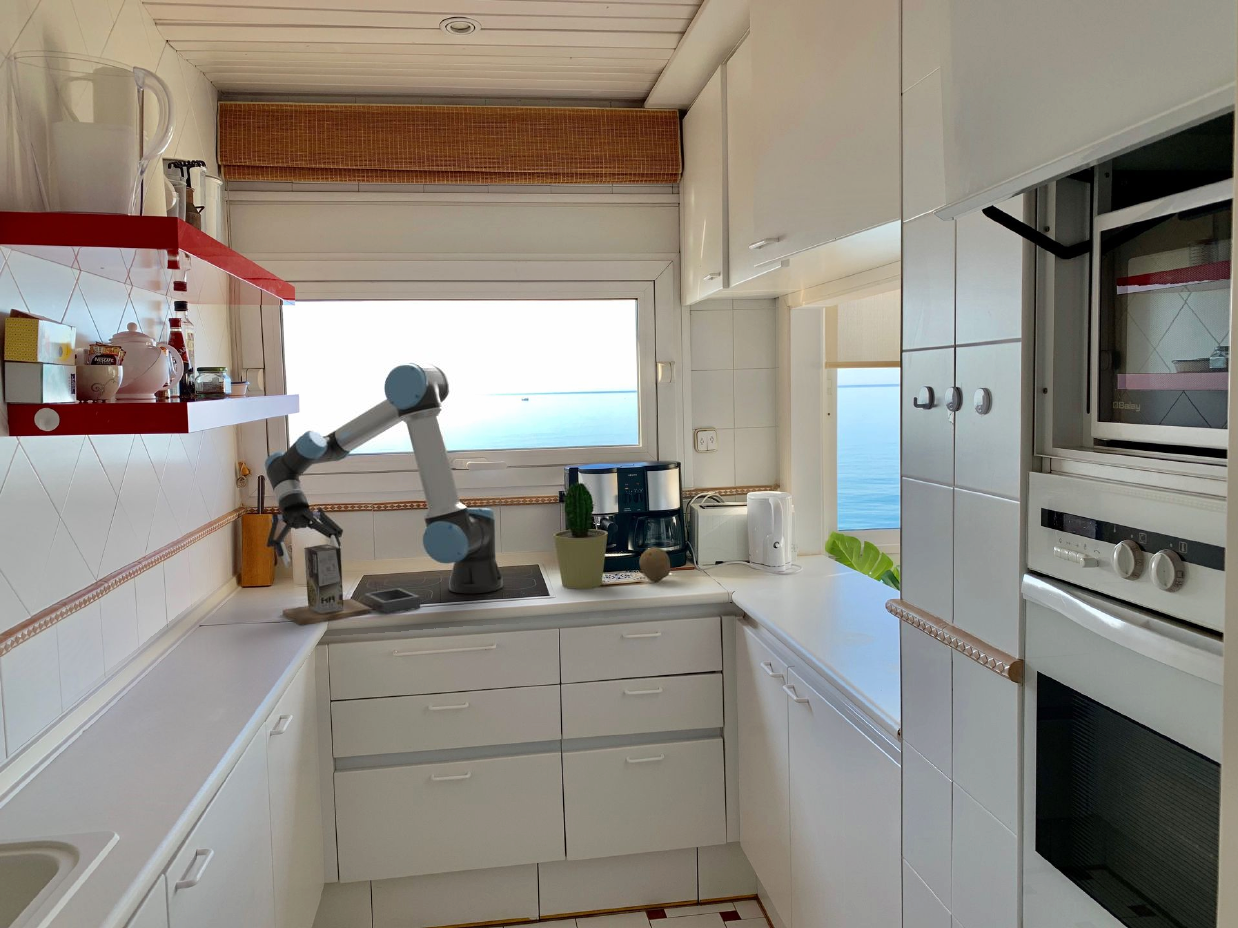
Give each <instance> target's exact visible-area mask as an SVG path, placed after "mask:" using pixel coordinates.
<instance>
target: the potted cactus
mask: <svg viewBox="0 0 1238 928" xmlns="http://www.w3.org/2000/svg"><path fill="white" fill-rule="evenodd" d="M587 482H588V481H587ZM587 482H585V483H583V482H574V484H573V483H571V484H570V486H569V487H568V488H566V492H564V495H565V496H563V497H562V500H564V502H563V503H564V504H563V503H562V504H563V507H564V508H561V510H562V511H564V513H566V516H565V517H564V519H566V520H565V522H566V521H567V525H568V528H569V529H568V530H561V531H558V532H555V533H554V534H553V536H554V537H553V539H554V545H555V550H556V551H555V552H556V557H557V562H558V567H559V568H558V569H559V573H560V575H559V576H560V579H561V580H560V581H561V584H562V587H563V588H567V589H572V590H585V589H586V590H587V589H595V588H597V587H600V586H601V585H602V582H603V576H604V575H603V574H604V566H605V559H606V558H605V557H606V550H607V542H608V540H607V539H608V534H609V533H608V531H606V530H601V529H590V528H591V527H592V526H591V523H592V524H593V522H594V521H593V520H592V517H594V515H595V514H593V512H594V510H595V509H596V508H595V507H596V506H598V505H596V504H597V502H596V501H594V499H593V498H594V497H593V495H592V493H591V492H590V488H589V486H588V485H586V484H587ZM561 510H560V511H561Z"/></svg>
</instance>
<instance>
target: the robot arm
mask: <svg viewBox="0 0 1238 928" xmlns="http://www.w3.org/2000/svg"><path fill="white" fill-rule="evenodd" d="M383 389H384V395H385V398H386V399H384V400H382V401H381V402H380V403H378V404H376V405H374V406H373V407H371V408H370V409H368V410H366V411H364V412H363V413H362V414H359V415H358V416H356V417H355V418H353V419H351V420H349V421H348V422H347V423H344V424H343V425H341V426H339V427H338V428H337V429H336V430H334V431H331V432H330V433H328V434H327V435H324V436H322V434H320V433H319V432H315V431H314V430H307V431H306V432H304V433H303V434H302V435H300V436H299V437H298V438H297V439H296V440H295V441H294V443H293V444H292V445H291V446H290V447H289V448H288V449H287V450H286V451H285V452H284V451H277V452H275V453H273V454H270V455H268V457H267V458H266V459H265V461H264V467H265V472H266V476H267V478H268V480H269V483H270V485H271V487H272V492H273V494H274V496H275V497H274V498H275V499H276V502H277V505H278V508H279V510H280V514H281V515H278V513H276V512H275V513H273V514H272V515H271V521H270V522H271V528H270V532H269V533H268V538H267V542H266V547H267V548H271V547H273V549H274V550H275V551H276V554H277V556H278V557H280V558H282V561H283V564H284V567H285V569H288V568H290V564H291V561H292V560H291V558H290V555H289V553H288V550H287V546H286V545H285V542H284V541H285V538H286V537H287V535H288V534H289V532H290V531H291V530H292V529H294V530H298V529H306V528H309V529H311V530H314V531H316V532H318V533H320V534H321V535H323V536H325V537H327V538H328V539H329V543H330V544H329V545H332V546H335V547H338V548H340V547H341V546H342V545H341V541H340V538H342V535H343V534H344V529H343V528H342V527H340V526H339V525H338V524H337V523H336V522H335V521H334V520H332V519H331V518H330V517H329V516H328V515H327V514H326V513H325V512H324V509H323V508H318V509H317V510H315V511H313V510H312V509H311V508H310V505H309V502H308V499H307V497H306V494H305V492H304V488H303V487H302V483H301V480H300V478H299V477H300V476H301V475H302V474H304V473H305V472H306V471H307V470H308V469H309V468H310V467H311V466H312V465H315V464H323V463H329V462H339V461H340V460H344V459H346V458H347V457H348V456H349V454H350V453H351V452H352V451H354V450H356V449H357V448H359V447H360V446H363V445H364V444H365V443H368V442H369V441H370V440H372V439H374V438H376V437H378V436H379V435H381V434H382V433H384V432H386V431H388V430H389V429H391V428H392V427H394V426H396V425H398V424H400V423H401V422H404V423H405V424H406V426H407V431H408V435H409V440H410V443H411V448H412V451H413V454H414V455H413V456H414V459H415V463H416V467H417V470H418V475H419V478H420V482H421V486H422V491H423V494H424V498H425V502H426V506H427V512H426V513H425V515H424V518H423V519H424V522H425V526H426V528H425V530H424V533H423V535H422V545H423V549H424V550H425V552H426V554H427V555H428V556H429V557H430V558H431V559H433V560H434V561H435V562H438V563H440V564H453V566H452V569H451V573H450V577H449V581H448V589H449V591H450V592H452V593H458V594H482V593H483V594H484V593H490V592H493V591H498V590H500V589H502V588H504V587H503V586H504V582H503V576H502V574H501V571H500V568H499V566H498V562H497V561H496V560H497V559H496V532H495V531H496V529H495V526H496V524H495V523H496V519H495V513H494V510H493V509H492V508H488V507H487V508H486V507H485V508H483V507H482V508H481V507H467V506H466V505H465V504H463V503H461V501H460V498H459V494H458V490H457V485H456V483H455V478H454V474H453V471H452V467H451V463H450V458H449V454H448V450H447V446H446V441H445V439H444V434H443V430H442V426H441V422H440V417H439V415H440V413H441V411H442V409H443V407H442V403H443V402H444V401H445V400H446V399H447V397H448V396H449V393H450V390H451V381H450V378H449V375H448V374H447V372H446V371H445V370H444V369H443V368H441V367H440V366H439V365H435V364H430V363H413V362H411V363H405V364H401V365H397V366H395V367H394V368H393V369H392V370H391V371H390V372H389V373H388V374H387V376H386V378H385V380H384V388H383ZM281 521H282V522H283V523H285V525H284V527H283V529H282V530H281V532H280V533H279V534H278V536H277V538H276V539H274V538H275V534H276V530H277V527H278V525H279V524H280V523H281Z"/></svg>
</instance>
